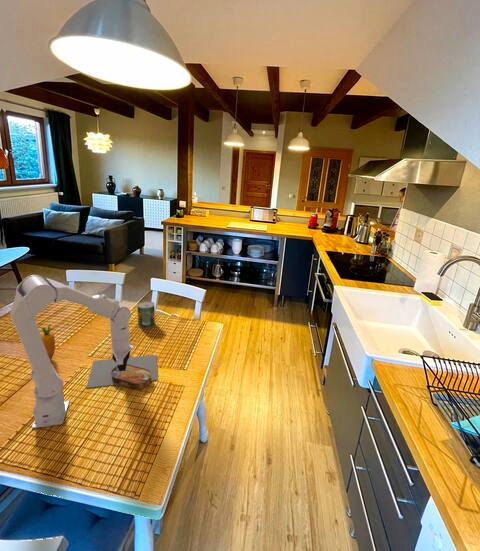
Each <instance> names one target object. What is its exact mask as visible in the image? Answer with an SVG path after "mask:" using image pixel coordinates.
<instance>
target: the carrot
mask: <svg viewBox="0 0 480 551" xmlns="http://www.w3.org/2000/svg"><path fill="white" fill-rule="evenodd" d="M40 328H41V331H42V333H40V335H41V338H42V340H43V343H44V346H45V348H46V351H47V354H48V356H49V359H50V361H51V360H52V359H53V356H54V354H55V350H56V341H55V340H56V339H55V333H53V332H51V331H52V330H53V327H51V324H48V326H47V328H46V327H45V326H42V327H40Z"/></svg>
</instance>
